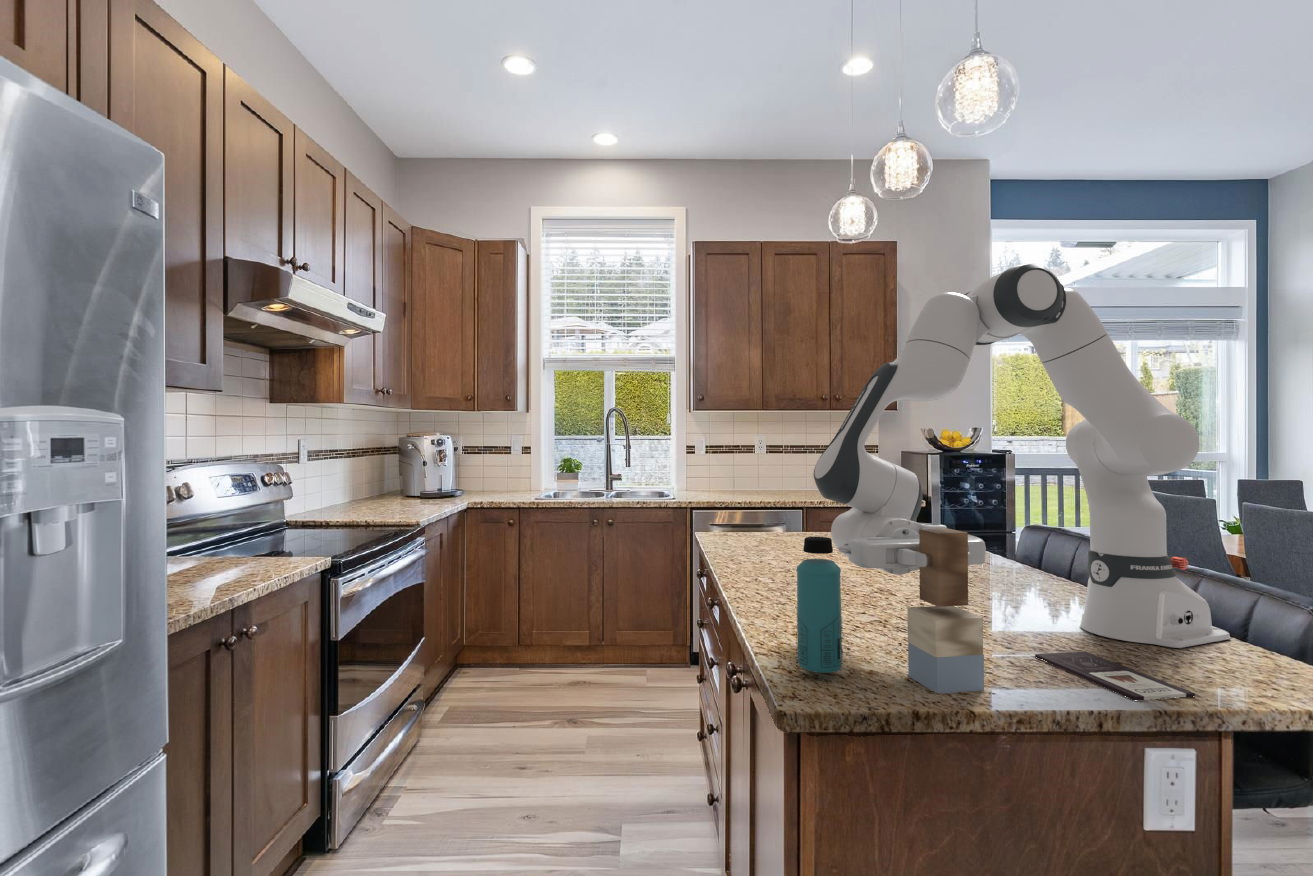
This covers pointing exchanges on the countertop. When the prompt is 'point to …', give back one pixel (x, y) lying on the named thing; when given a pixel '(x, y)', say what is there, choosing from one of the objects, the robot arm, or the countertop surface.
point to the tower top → (945, 631)
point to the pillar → (944, 567)
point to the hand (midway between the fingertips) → (947, 560)
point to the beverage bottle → (819, 610)
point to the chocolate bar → (1114, 676)
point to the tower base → (946, 671)
